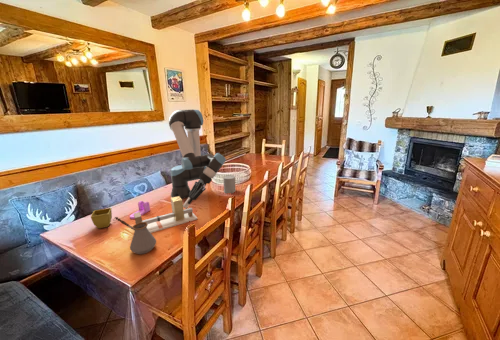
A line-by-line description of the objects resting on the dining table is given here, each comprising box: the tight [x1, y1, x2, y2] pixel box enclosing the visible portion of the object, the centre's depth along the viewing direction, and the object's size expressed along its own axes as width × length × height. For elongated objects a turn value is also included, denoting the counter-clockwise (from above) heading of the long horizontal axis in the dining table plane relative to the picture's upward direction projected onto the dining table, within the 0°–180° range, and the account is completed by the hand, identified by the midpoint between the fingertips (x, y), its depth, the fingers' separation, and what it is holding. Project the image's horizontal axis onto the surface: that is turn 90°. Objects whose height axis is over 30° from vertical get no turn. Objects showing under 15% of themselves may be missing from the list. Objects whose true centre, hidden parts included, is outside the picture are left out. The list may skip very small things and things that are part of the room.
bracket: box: [129, 200, 151, 220], centre depth 140 cm, size 13×6×7 cm, turn 163°
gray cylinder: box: [222, 174, 237, 194], centre depth 174 cm, size 10×10×12 cm
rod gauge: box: [133, 207, 198, 234], centre depth 127 cm, size 11×33×10 cm, turn 123°
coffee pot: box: [113, 216, 157, 255], centre depth 105 cm, size 21×12×15 cm, turn 71°
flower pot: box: [90, 207, 113, 229], centre depth 126 cm, size 9×9×9 cm
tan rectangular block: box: [170, 196, 184, 221], centre depth 130 cm, size 7×5×12 cm
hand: (184, 207), depth 131 cm, fingers closed
